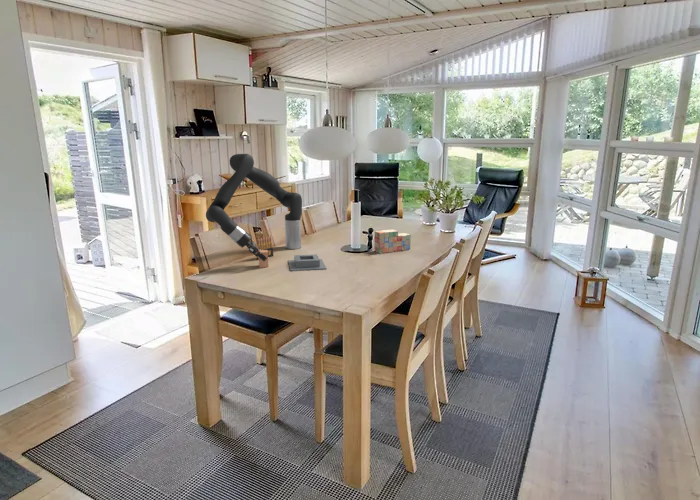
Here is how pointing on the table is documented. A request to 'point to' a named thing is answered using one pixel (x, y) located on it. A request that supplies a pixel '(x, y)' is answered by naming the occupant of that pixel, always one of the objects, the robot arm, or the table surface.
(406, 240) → the stack of blocks
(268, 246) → the ammunition clip
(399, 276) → the table surface
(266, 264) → the block
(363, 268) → the table surface
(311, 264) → the socket
